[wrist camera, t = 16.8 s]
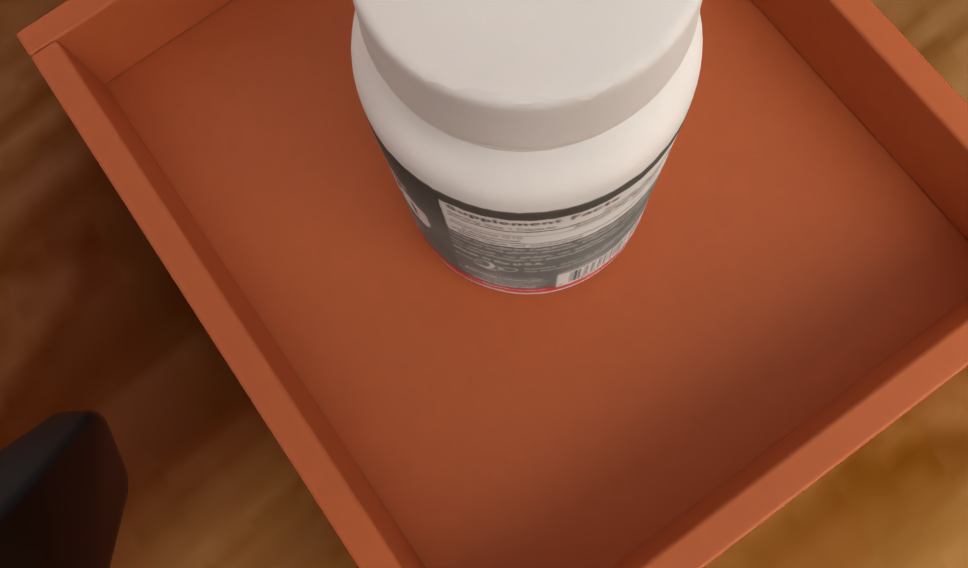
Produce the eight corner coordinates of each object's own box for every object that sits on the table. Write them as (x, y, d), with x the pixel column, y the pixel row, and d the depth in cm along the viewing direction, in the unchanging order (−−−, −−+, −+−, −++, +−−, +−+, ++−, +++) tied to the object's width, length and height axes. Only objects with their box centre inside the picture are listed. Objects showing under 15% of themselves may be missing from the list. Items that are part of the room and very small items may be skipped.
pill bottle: (412, 78, 18) (312, -252, 10) (640, 73, 18) (732, -269, 10) (407, 301, 17) (291, 140, 9) (649, 299, 17) (762, 131, 8)
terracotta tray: (1026, 288, 17) (1112, 255, 14) (481, 702, 16) (472, 745, 13) (563, -224, 20) (567, -325, 18) (83, 91, 19) (13, 33, 16)
